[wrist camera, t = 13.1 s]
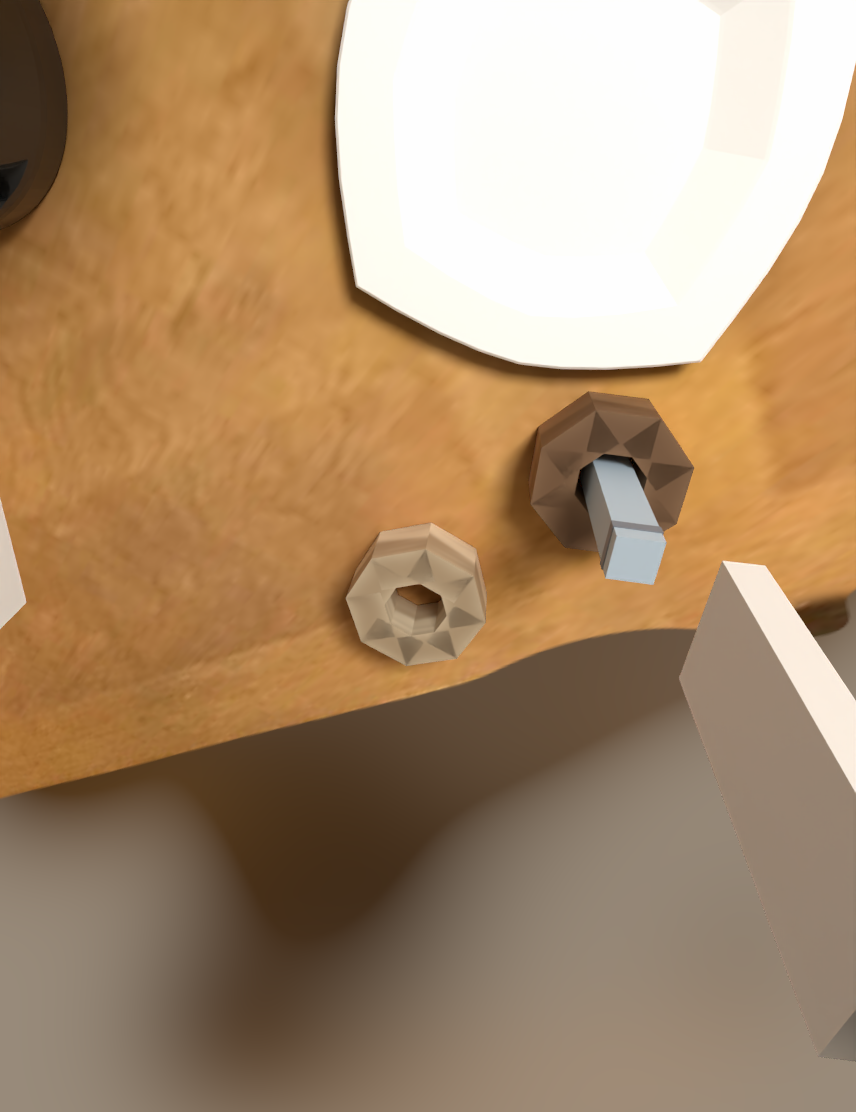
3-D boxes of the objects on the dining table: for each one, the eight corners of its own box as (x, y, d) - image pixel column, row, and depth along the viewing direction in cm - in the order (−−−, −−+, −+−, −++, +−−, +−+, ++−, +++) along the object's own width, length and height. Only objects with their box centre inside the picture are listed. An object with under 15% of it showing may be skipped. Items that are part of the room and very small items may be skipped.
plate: (381, -272, 28) (373, -301, 26) (937, -145, 28) (966, -166, 26) (319, 313, 39) (310, 319, 38) (715, 399, 40) (725, 410, 38)
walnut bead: (521, 515, 44) (523, 541, 41) (546, 386, 40) (550, 404, 37) (653, 532, 43) (664, 560, 40) (691, 404, 39) (707, 424, 36)
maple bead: (379, 639, 49) (371, 670, 46) (345, 538, 46) (333, 565, 43) (493, 621, 48) (493, 653, 45) (467, 515, 44) (465, 541, 41)
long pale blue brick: (586, 442, 41) (615, 535, 31) (625, 447, 41) (667, 541, 31) (578, 478, 42) (604, 579, 32) (616, 483, 42) (654, 585, 32)
